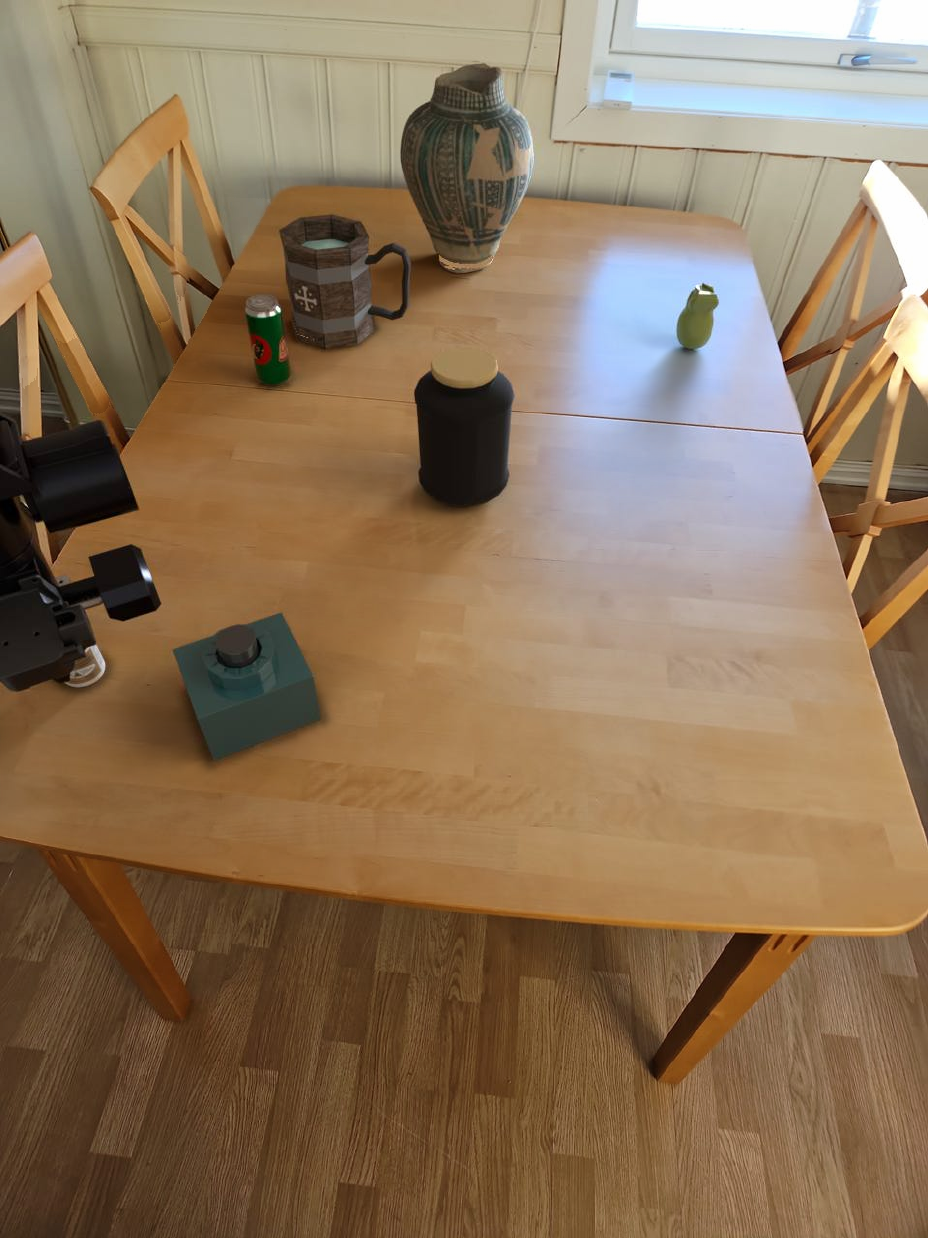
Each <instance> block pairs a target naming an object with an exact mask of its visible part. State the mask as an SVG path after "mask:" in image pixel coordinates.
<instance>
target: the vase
mask: <svg viewBox="0 0 928 1238" xmlns="http://www.w3.org/2000/svg"><path fill="white" fill-rule="evenodd" d="M533 143H534V142H533V137H532V131H531V128H530V126H529V122H528V120H527V119H526V117H525V116H524V115H523V114H522V113H521V111H519V110H518V109H517V108H516V107H514V106H512V105H511V104H509V103H508V102H507V100H506V96H505V90H504V86H503V71H502V69H501V68H500V66H499V67H498V66H492V67H491V66H490V65H488V64H487V63H485V62H482V63H473V64H466V65H463V66H461V67H459V68H457V69H455V70H453V71H451V72H446V73H442V74H440V75H439V76H438V77H436V79H435V80H434V88H433V92H432V95H431V97H430V100H429V101H427V102H425V103H423V104H421V105H420V106H418V107H417V108H415V109H414V110H413V111H412V113H410V115H408V117H407V119H406V121H405V124H404V126H403V131H402V134H401V140H400V150H399V151H400V153H399V155H400V166H401V171H402V174H403V177H404V180H405V183H406V186H407V189H408V192H409V195H410V197H411V199H412V202H413V204H414V206H415V208H416V210H417V212H418V214H419V216H420V218H421V220H422V222H423V224H424V226H425V229H426V231H427V233H428V235H429V238H430V241H431V243H432V246H433V249H434V251H435V253H436V254H437V255H438V254H439V255H440V256H441V257H442V258H444V259H446V260H448V261H450V262H453V263H459V264H477V263H481V262H484V261H486V260H488V259H489V258H490V257H492V256H493V257H494V256H495V255H496V253H497V251H498V250H499V248H500V242H501V239H502V237H503V236H504V233H505V232H506V229H507V228H508V226H509V224H510V222H511V220H512V219H513V217H514V215H515V213H516V212H517V210H518V208H519V206H520V205H521V203H522V201H523V199H524V197H525V194H526V192H527V190H528V187H529V184H530V181H531V178H532V174H533V168H534V159H535V152H534V144H533ZM493 259H494V258H493ZM493 259H492V261H491V262H490V263H488V264H487V265H484V266H481V267H482V268H480V267H478V268H477V269H476V268H469V269H467V268H461V269H459V268H455V267H453V268H455V270H452V269H448V268H446V269H447V270H446V269H445V270H446V271H448V272H451V273H454V274H455V273H456V274H465V273H471V272H476V271H479V270H482V269H484V268H486V267H488V266H490V265H491V263H492V262H493V261H494V260H493ZM439 264H440V265H441V266H442V267H443V266H449V265H446V264H444V263H443V262H439ZM485 266H486V267H485ZM471 269H472V270H471Z"/></svg>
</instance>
